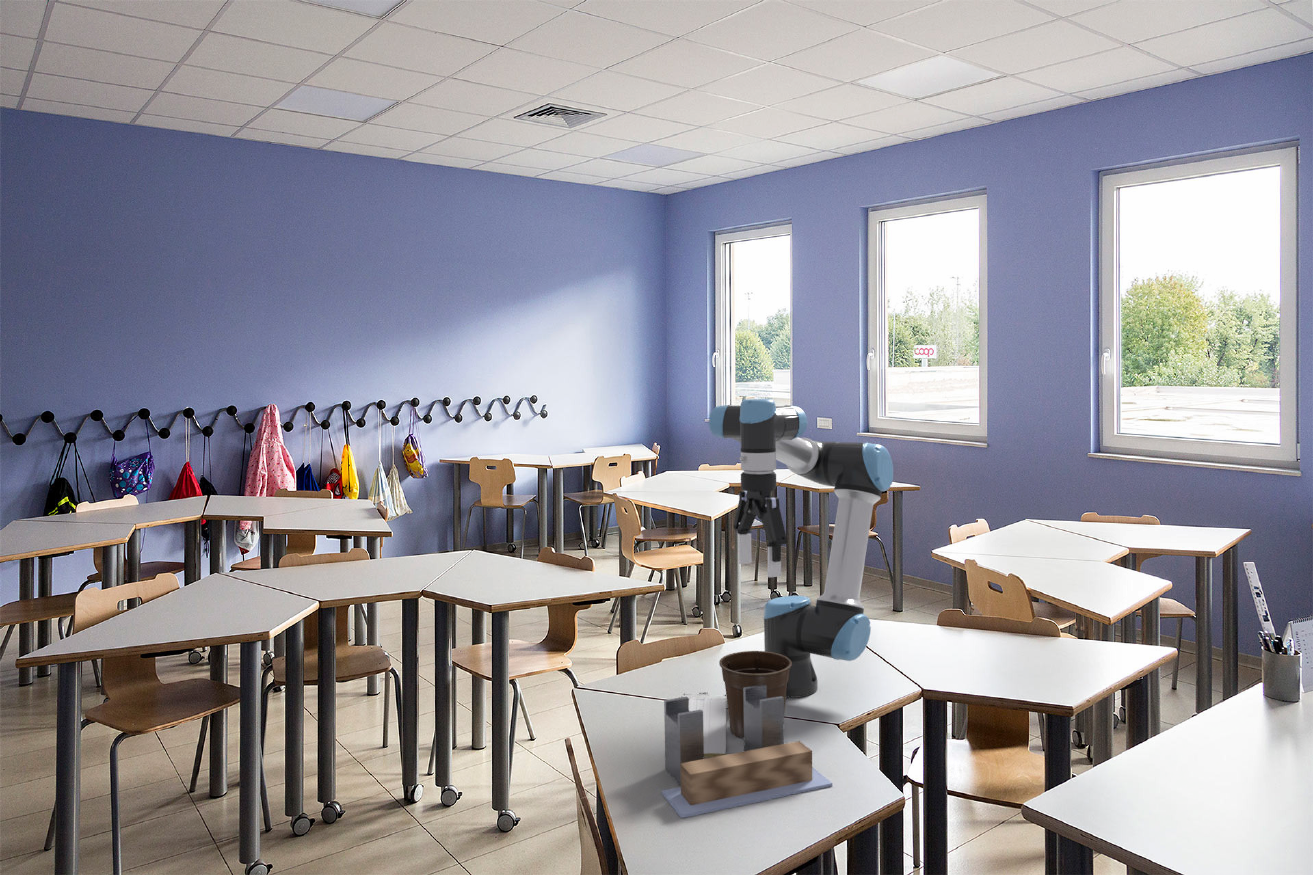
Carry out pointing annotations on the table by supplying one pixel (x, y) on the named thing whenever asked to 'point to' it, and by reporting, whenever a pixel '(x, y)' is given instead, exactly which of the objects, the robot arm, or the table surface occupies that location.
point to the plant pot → (752, 680)
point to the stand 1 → (682, 735)
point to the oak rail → (745, 772)
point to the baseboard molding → (712, 723)
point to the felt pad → (742, 796)
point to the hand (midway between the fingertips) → (759, 569)
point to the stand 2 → (762, 718)
